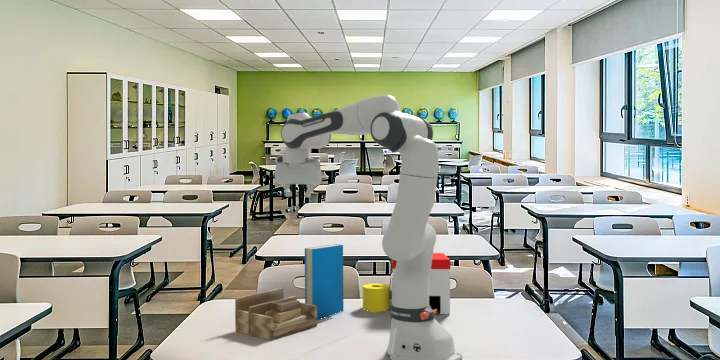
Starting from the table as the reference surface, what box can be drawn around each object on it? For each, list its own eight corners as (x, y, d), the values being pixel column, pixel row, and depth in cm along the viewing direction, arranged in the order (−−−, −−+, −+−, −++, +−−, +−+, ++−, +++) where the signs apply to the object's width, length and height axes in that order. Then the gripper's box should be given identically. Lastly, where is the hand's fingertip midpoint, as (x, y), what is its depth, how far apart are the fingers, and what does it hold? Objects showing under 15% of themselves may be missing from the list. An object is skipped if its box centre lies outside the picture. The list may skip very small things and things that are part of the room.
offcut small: (299, 308, 196) (299, 300, 196) (281, 312, 190) (281, 304, 190) (289, 305, 199) (289, 298, 199) (271, 310, 193) (270, 302, 193)
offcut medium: (300, 316, 197) (300, 307, 197) (279, 323, 188) (279, 314, 188) (286, 314, 200) (286, 305, 200) (265, 321, 191) (265, 312, 191)
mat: (352, 313, 218) (352, 312, 218) (315, 324, 202) (315, 323, 202) (331, 309, 224) (331, 308, 224) (294, 319, 208) (294, 318, 208)
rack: (317, 326, 200) (316, 293, 200) (271, 340, 183) (271, 305, 183) (281, 318, 210) (281, 287, 210) (235, 331, 194) (235, 297, 194)
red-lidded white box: (392, 316, 213) (392, 259, 213) (393, 296, 248) (393, 246, 248) (450, 317, 212) (450, 259, 212) (443, 296, 247) (443, 246, 247)
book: (313, 321, 205) (313, 249, 205) (304, 319, 208) (304, 248, 207) (344, 311, 218) (344, 244, 218) (336, 310, 221) (335, 243, 221)
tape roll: (357, 310, 223) (357, 285, 222) (379, 306, 228) (379, 282, 228) (372, 315, 214) (372, 289, 214) (394, 312, 220) (394, 286, 220)
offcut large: (306, 324, 198) (306, 315, 198) (277, 334, 187) (277, 324, 187) (290, 321, 202) (290, 312, 202) (261, 330, 191) (261, 321, 191)
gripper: (325, 158, 208) (325, 197, 208) (284, 158, 221) (284, 195, 221) (313, 157, 203) (313, 198, 203) (272, 158, 216) (272, 196, 216)
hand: (298, 196), depth 212 cm, fingers open, 8 cm apart
